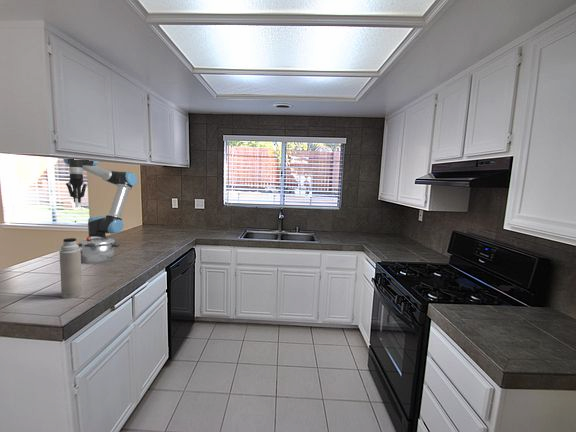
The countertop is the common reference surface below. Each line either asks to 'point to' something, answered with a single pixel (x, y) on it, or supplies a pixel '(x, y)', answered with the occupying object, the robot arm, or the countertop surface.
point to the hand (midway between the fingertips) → (77, 207)
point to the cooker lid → (97, 241)
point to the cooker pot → (98, 253)
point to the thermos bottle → (70, 269)
